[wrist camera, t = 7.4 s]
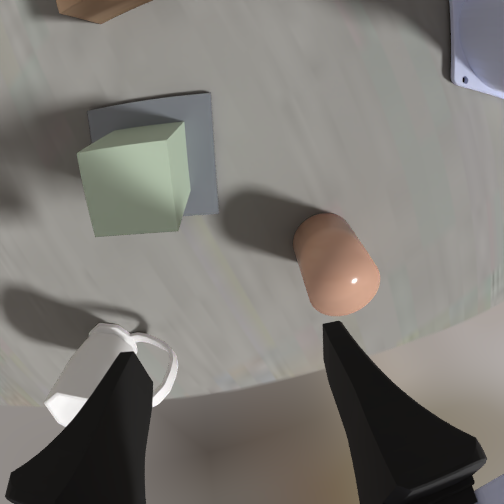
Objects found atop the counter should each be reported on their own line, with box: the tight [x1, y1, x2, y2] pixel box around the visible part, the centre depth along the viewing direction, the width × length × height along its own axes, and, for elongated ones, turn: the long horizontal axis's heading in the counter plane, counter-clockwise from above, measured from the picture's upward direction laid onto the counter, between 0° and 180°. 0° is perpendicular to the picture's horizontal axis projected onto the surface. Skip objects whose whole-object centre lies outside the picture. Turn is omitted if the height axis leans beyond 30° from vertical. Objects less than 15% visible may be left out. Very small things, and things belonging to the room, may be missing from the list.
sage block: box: [77, 122, 191, 237], centre depth 15 cm, size 4×4×5 cm
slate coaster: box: [87, 93, 219, 216], centre depth 17 cm, size 7×7×1 cm
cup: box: [44, 323, 178, 427], centre depth 21 cm, size 7×10×8 cm
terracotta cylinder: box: [293, 213, 380, 316], centre depth 19 cm, size 4×4×5 cm
